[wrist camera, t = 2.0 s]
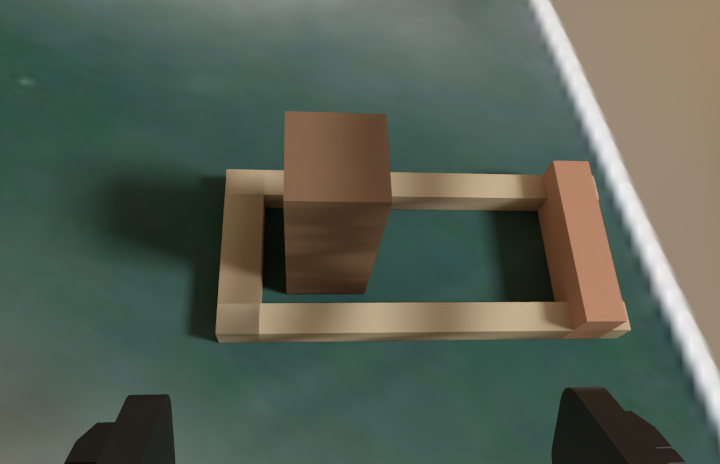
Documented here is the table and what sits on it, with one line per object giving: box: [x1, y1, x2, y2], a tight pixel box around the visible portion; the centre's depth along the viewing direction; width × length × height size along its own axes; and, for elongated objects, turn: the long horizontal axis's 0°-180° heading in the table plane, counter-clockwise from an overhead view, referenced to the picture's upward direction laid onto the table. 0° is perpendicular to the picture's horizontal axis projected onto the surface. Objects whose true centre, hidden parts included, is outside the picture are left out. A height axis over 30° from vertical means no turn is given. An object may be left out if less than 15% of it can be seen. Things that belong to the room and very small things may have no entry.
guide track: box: [215, 161, 631, 343], centre depth 31 cm, size 20×9×3 cm, turn 92°
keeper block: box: [283, 111, 392, 294], centre depth 27 cm, size 4×4×10 cm
